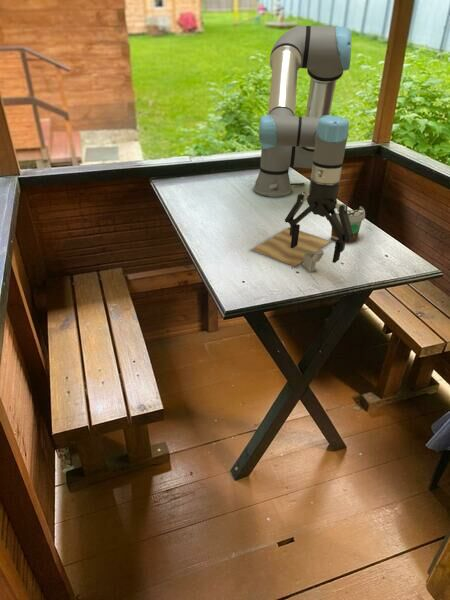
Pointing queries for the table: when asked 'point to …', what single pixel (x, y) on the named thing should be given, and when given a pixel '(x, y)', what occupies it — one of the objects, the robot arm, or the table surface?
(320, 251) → the lighter
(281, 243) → the wooden board
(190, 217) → the table surface
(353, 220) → the food container
